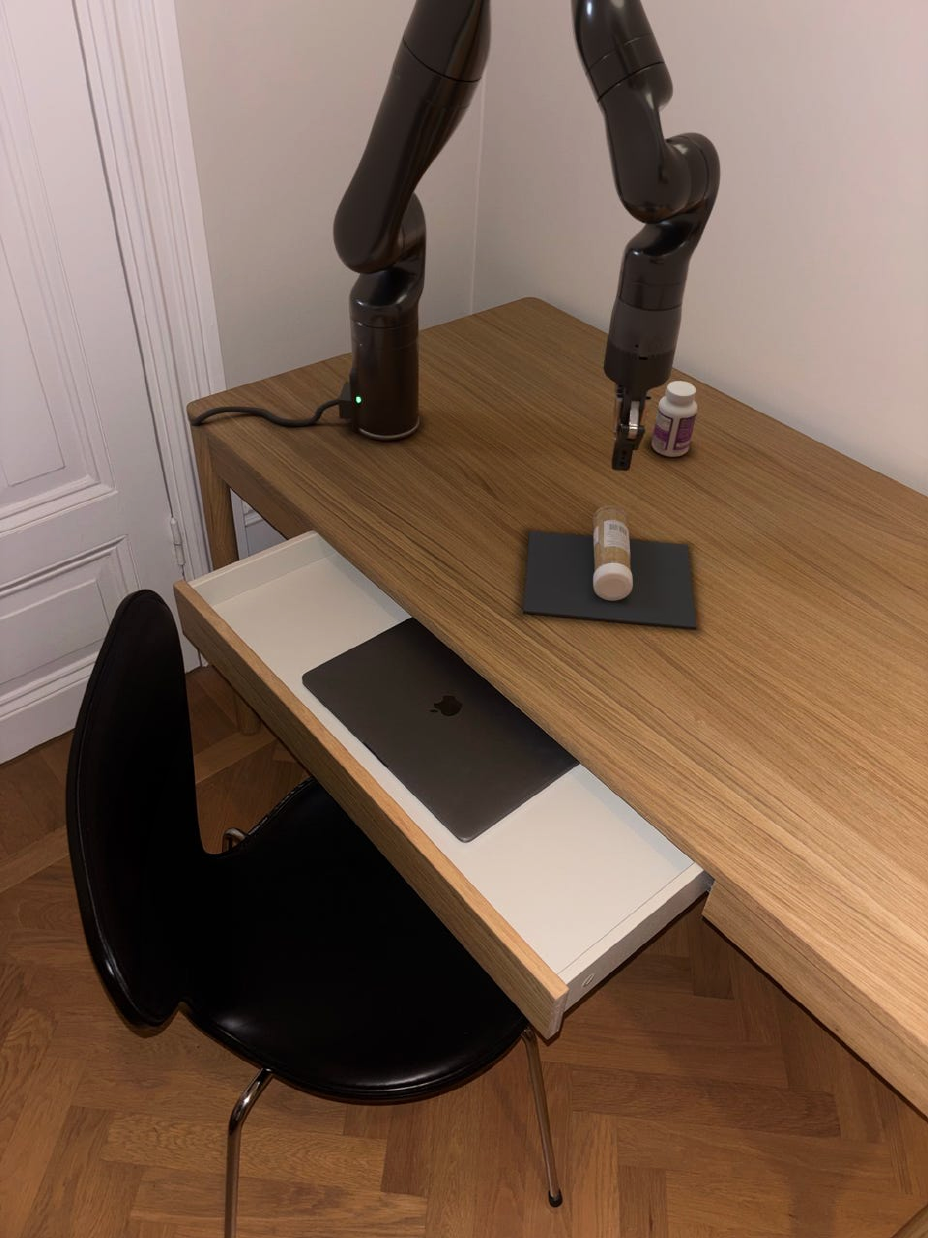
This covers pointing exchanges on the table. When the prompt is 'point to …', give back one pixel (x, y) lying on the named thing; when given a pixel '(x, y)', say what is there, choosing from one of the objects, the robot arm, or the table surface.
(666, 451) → the pill bottle
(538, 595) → the mat
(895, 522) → the table surface
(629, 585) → the sprinkles bottle
